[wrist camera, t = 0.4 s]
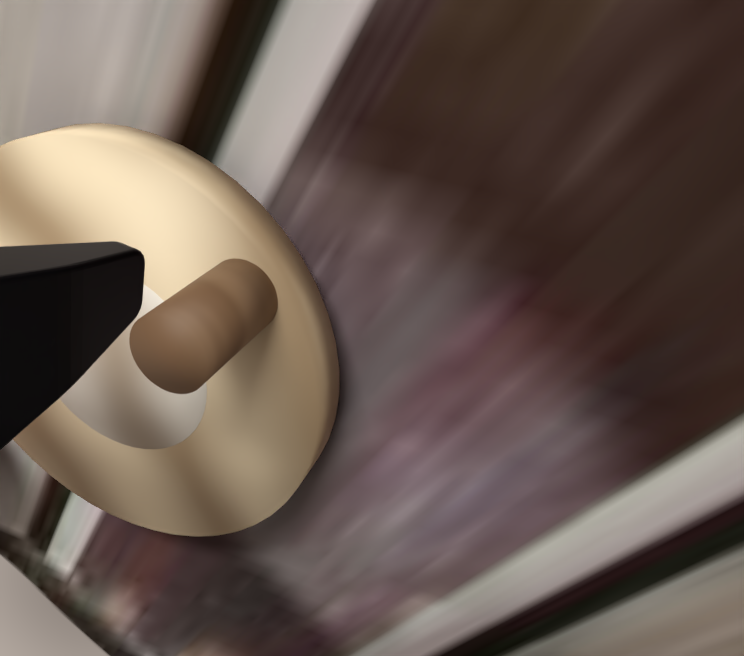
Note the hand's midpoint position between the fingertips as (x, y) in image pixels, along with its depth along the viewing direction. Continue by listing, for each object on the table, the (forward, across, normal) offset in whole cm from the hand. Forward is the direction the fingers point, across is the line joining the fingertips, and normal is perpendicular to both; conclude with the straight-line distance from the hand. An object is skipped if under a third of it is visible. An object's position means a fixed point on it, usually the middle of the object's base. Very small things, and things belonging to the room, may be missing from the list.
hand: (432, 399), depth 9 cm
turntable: (+13, +12, +10) cm, 20 cm away
